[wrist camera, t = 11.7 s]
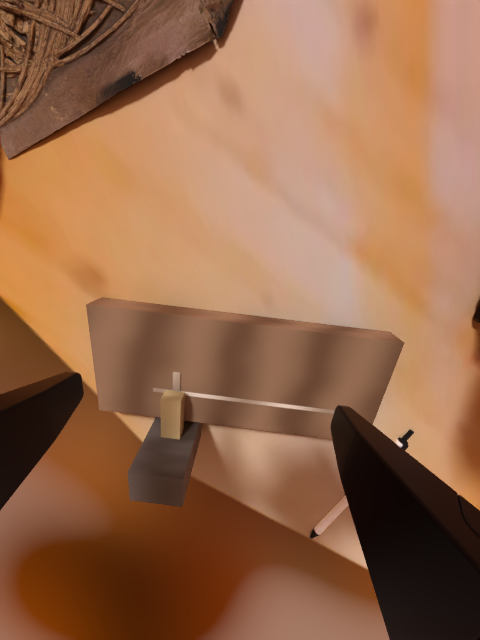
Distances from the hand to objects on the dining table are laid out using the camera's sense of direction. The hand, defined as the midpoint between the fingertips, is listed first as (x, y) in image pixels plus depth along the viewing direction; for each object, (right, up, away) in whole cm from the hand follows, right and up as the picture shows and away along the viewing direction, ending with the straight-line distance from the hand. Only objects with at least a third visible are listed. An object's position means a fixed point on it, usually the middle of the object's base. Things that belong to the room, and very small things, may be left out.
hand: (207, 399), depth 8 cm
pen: (+14, -16, +19) cm, 28 cm away
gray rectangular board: (+1, -1, +13) cm, 13 cm away
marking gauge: (-5, -6, +15) cm, 16 cm away
